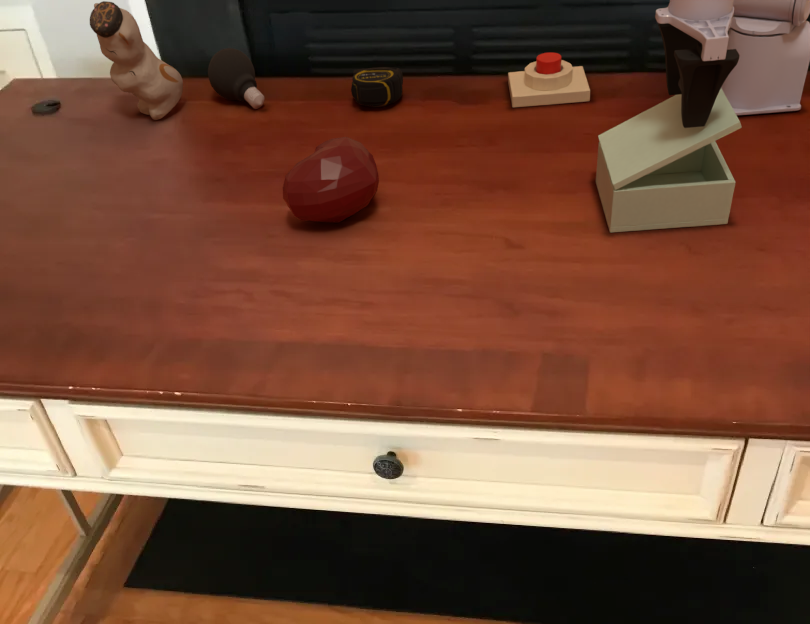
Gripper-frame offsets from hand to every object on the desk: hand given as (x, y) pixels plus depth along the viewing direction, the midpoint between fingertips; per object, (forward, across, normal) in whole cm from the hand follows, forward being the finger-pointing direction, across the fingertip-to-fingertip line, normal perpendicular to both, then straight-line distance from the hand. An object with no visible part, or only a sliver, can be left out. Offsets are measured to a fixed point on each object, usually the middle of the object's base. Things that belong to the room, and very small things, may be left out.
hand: (685, 109), depth 91 cm
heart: (+10, -3, -36) cm, 38 cm away
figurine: (+10, -34, -64) cm, 74 cm away
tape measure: (+10, -33, -34) cm, 48 cm away
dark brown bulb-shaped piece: (+10, -37, -52) cm, 65 cm away
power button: (+7, -31, -11) cm, 34 cm away
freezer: (+10, 0, -2) cm, 10 cm away
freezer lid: (+2, 0, -2) cm, 3 cm away
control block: (+10, -31, -10) cm, 34 cm away
